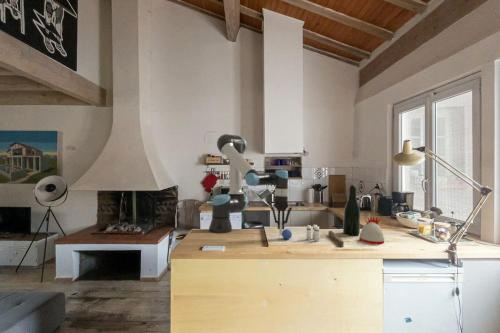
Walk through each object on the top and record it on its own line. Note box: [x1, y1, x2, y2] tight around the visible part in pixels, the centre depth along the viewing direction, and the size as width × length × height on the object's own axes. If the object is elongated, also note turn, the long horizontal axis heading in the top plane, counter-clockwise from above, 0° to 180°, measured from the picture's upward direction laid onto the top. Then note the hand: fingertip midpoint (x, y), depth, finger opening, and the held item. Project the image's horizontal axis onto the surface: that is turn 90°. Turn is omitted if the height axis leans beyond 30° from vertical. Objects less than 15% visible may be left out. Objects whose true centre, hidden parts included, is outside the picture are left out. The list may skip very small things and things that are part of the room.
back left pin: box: [312, 224, 318, 240], centre depth 170 cm, size 2×2×8 cm
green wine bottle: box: [342, 184, 361, 236], centre depth 185 cm, size 10×10×33 cm
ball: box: [281, 228, 293, 240], centre depth 167 cm, size 6×6×6 cm
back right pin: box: [313, 226, 320, 243], centre depth 165 cm, size 2×2×8 cm
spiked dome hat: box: [359, 216, 385, 245], centre depth 169 cm, size 14×14×15 cm
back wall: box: [328, 230, 344, 248], centre depth 167 cm, size 2×24×3 cm, turn 179°
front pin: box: [306, 224, 312, 241], centre depth 167 cm, size 2×2×8 cm
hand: (280, 234), depth 167 cm, fingers closed
